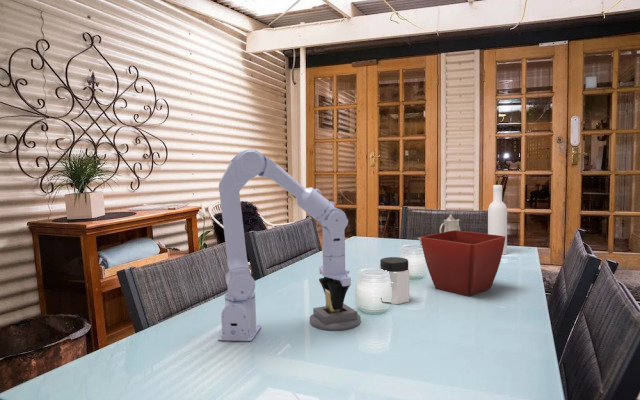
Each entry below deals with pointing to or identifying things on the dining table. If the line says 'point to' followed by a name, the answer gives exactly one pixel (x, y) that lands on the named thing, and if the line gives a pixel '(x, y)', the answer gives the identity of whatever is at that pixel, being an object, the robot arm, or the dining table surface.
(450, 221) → the chinaware
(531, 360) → the dining table surface
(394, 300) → the jar
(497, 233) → the bottle
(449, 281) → the plant pot
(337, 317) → the hub
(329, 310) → the shaft
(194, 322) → the dining table surface
